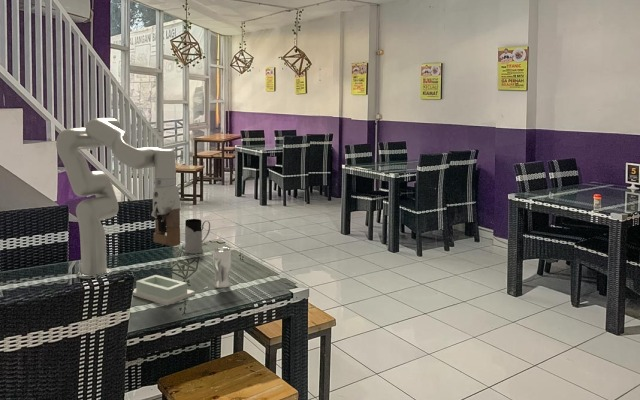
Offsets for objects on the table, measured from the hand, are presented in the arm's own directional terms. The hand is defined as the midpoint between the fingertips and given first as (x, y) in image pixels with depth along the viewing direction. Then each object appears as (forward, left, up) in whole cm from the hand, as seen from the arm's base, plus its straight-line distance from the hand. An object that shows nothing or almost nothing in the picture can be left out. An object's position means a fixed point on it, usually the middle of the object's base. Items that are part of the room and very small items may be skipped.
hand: (166, 230), depth 206 cm
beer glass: (+15, +15, -23) cm, 31 cm away
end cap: (+3, -5, -23) cm, 24 cm away
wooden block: (0, 0, -6) cm, 6 cm away
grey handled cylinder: (-29, +48, -23) cm, 61 cm away
